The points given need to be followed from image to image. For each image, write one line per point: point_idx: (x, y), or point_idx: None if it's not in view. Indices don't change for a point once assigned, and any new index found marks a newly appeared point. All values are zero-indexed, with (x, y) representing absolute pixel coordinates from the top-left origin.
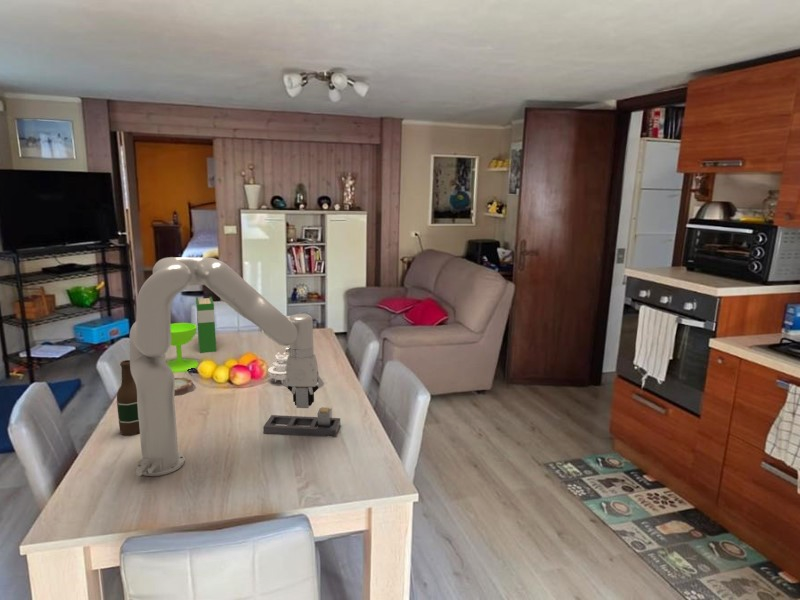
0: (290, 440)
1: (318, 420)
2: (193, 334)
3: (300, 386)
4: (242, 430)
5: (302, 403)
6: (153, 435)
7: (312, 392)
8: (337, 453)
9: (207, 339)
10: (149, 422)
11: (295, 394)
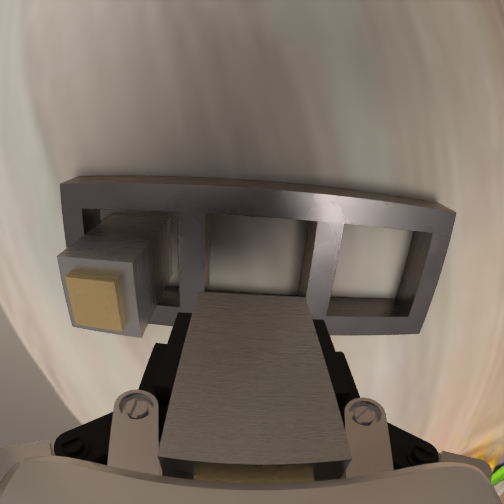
0: (302, 120)
1: (144, 240)
2: None
3: (274, 488)
4: (501, 232)
5: (250, 318)
6: None
7: (127, 411)
8: (58, 30)
9: None
10: None
11: (337, 394)
